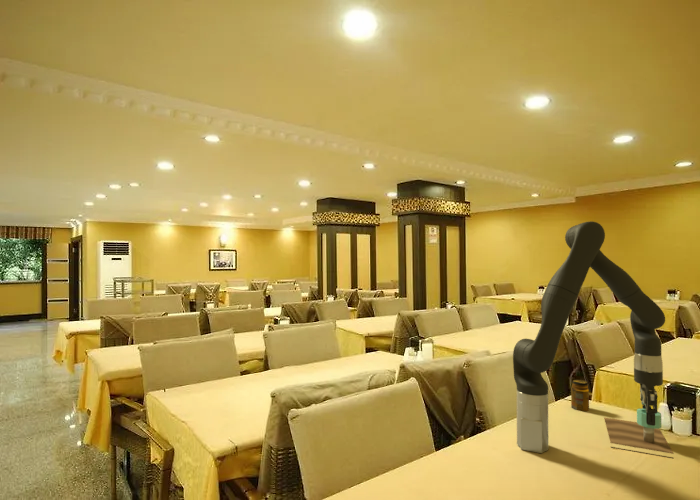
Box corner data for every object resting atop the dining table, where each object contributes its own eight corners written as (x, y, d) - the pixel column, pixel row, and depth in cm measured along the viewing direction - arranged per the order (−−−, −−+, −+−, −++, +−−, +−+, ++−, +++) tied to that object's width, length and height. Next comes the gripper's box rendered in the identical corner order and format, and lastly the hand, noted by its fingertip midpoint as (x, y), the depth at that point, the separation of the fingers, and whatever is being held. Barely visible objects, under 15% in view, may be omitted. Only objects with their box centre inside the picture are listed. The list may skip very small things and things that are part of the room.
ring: (662, 429, 130) (662, 416, 130) (638, 426, 133) (638, 413, 133) (658, 422, 136) (658, 410, 136) (635, 419, 139) (635, 407, 139)
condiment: (593, 413, 163) (593, 382, 163) (582, 418, 158) (582, 385, 158) (575, 407, 169) (574, 377, 169) (563, 412, 164) (563, 380, 164)
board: (673, 458, 126) (673, 428, 126) (610, 447, 133) (610, 419, 133) (657, 429, 147) (657, 403, 147) (604, 421, 154) (603, 396, 155)
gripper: (630, 361, 143) (631, 411, 143) (637, 372, 130) (638, 427, 130) (657, 364, 140) (658, 415, 139) (667, 375, 127) (668, 431, 126)
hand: (648, 420), depth 135 cm, fingers closed on ring, 6 cm apart
